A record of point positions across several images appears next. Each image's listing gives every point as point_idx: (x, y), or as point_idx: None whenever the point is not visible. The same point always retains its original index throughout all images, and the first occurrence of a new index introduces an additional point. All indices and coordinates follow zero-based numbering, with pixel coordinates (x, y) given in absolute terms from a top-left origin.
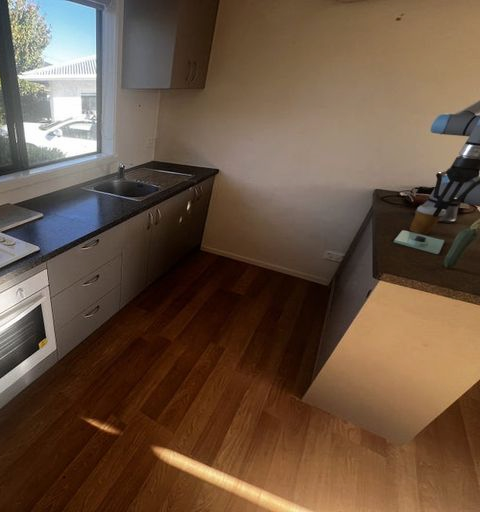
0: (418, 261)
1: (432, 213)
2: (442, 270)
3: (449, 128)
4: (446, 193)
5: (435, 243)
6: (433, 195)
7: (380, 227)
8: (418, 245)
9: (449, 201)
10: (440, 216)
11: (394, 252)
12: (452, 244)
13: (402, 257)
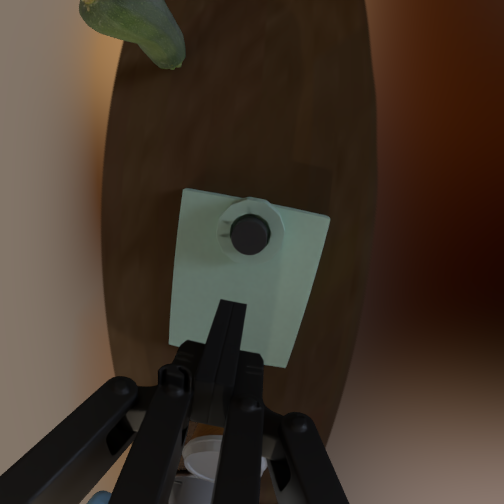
0: (255, 50)
1: (221, 439)
2: (192, 28)
3: None
4: (220, 458)
5: (191, 290)
6: (315, 430)
7: (344, 365)
8: (251, 197)
9: (176, 371)
10: (194, 437)
11: (329, 86)
12: (170, 22)
13: (304, 51)
